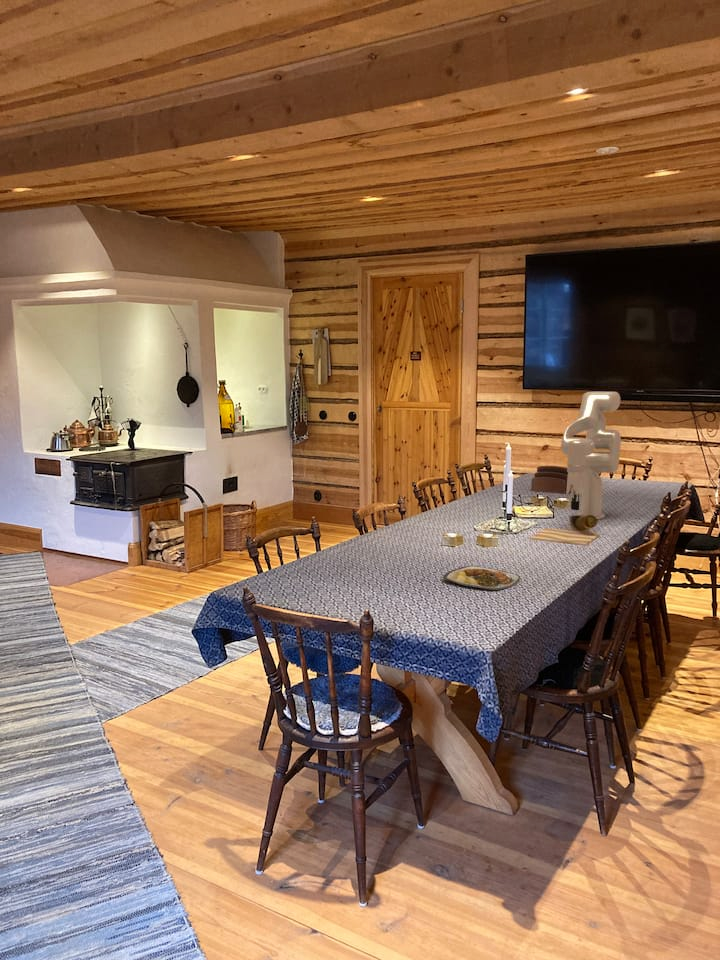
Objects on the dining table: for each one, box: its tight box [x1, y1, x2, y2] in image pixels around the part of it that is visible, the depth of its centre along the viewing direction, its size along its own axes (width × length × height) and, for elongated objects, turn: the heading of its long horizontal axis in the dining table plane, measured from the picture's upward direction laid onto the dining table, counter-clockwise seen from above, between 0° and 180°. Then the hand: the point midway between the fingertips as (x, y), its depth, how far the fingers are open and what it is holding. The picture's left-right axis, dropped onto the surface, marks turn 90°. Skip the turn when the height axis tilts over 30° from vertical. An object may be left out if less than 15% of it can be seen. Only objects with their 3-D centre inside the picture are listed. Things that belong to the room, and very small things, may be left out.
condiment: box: [569, 514, 598, 533], centre depth 336 cm, size 7×8×12 cm
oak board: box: [529, 527, 601, 547], centre depth 331 cm, size 20×24×1 cm
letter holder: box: [530, 465, 568, 495], centre depth 441 cm, size 10×20×14 cm, turn 57°
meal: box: [442, 565, 521, 591], centre depth 273 cm, size 25×25×3 cm
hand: (575, 509), depth 341 cm, fingers closed
